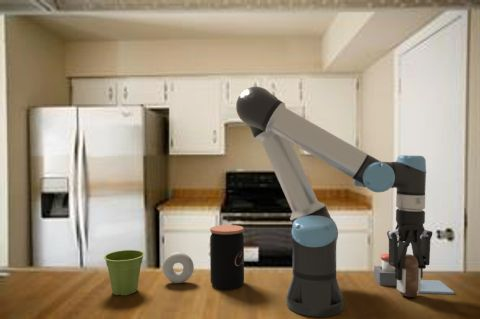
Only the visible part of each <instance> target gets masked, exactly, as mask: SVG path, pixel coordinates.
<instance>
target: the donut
mask: <svg viewBox="0 0 480 319" xmlns="http://www.w3.org/2000/svg"><path fill="white" fill-rule="evenodd" d="M176 264H180V265H182V267H183V269H182V270H181V271H180V272H178V271H176V270H174V266H175V265H176ZM194 267H195V265H194V262H193V260H192V258H191V256H190V255H189V254H187V253H184V252H182V251H181V252H180V251H176V252H172V253H170V254H169V255H168V256H166V258H165V259H164V261H163V263H162V273H163V275H164V276H165V278H166V279H167V280H168V281H170V282H171V283H173V284H182V283H184V282H186V281H188V280H189V279H190V278H191V277H192V276H193V273H194V269H195V268H194Z"/></svg>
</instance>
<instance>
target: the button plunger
mask: <svg viewBox="0 0 480 319" xmlns="http://www.w3.org/2000/svg"><path fill="white" fill-rule="evenodd" d="M380 259H381V266H382V271H384V272H395V267H393V266H391V265H389V253H381V254H380Z"/></svg>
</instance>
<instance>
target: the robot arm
mask: <svg viewBox="0 0 480 319" xmlns="http://www.w3.org/2000/svg"><path fill="white" fill-rule="evenodd" d="M235 106H236V107H235V109H236V113H237V116H238V118H239V119H240V120H241V121H242V122H243V123H244V124H246V125H248V127H249V129H250V131H251V133H252V136H253V138H254V139H255V141H258V142H260V143H261V144H262V146H263V149H264V151H265V153H266V156H267V158H268V160H269V162H270V165H271V167H272V169H273V171H274V174H275V177H276V178H277V181H278V182H279V184H280V188H281V189H282V192H283V194H284V196H285V198H286V201H287V203H288V205H289V208H290V210H291V216H290V217H289V219H290V222H291V224H292V228H291V237H292V241H291V242H292V244H291V245H292V277H291V280H290V283H289V286H288V289H287V292H286V300H285V301H286V304H285V305H286V307H287V308H288V309H289V310H290V311H292V312H294V313H296V314H298V315H302V316H307V317H314V318H315V317H316V318H326V317H333V316H335V315H336V316H337V315H338V314H340V313H342V311H343V310H344V298H343V294H342V292H341V288H340V285H339V283H338V279H337V244H338V242H337V241H338V237H339V232H338V231H339V230H338V226H337V224H336V221H335V220H334V218H332V216H331V214H330V212H329V211H328V209H327V208H328V207H327V206H326V204H325V203H323V202H321V201H319V200H318V199H317V196H316V194H315V192H314V189H313V187H312V185H311V183H310V180H309V179H308V176H307V173H306V171H305V169H304V168H303V165H302V163H301V161H300V159H299V156H298V154H297V152H296V149H295V147H294V145H295V146H296V147H297V148H300V149H301V150H302V151H304V152H306V153H308V154H310V155H312V156H313V157H315V158H316V159H318V160H320V161H322V162H324V163H325V164H327V165H329V166H330V167H332V168H334V169H335V170H337V171H339V172H340V173H342V174H344V175H345V176H348V177H349V178H351V179H353V184H354V186H356V187H362V188H367V190H369V191H371V192H374V193H383V192H387V191H389V190H390V189H394V188H395V189H396V197H395V198H396V200H395V201H396V202H395V206H396V208H397V209H395V221H396V226H395V229H393V230H391V231H390V230H388V231H387V232H386V235H387V238H388V254H389V265H391V266H393V267H395V278H396V279H397V286H396V290H397V291H399V292H400V291H401V292H403V293H405V285H406V270H405V269H403V267H404V262H405V257H406V254H408V253H407V252H408V247H410V244H411V249H412V250H411V251H412V255H413V256H415V257H416V259H417V260H418V269H417V291H418V292H419V291H420V290H421V280H423V275H424V274H423V272H424V270H426V268H427V266H430V262H431V261H430V259H431V257H430V256H431V239H432V237H433V233H434V232H433V231H431V230H427V229H425V227H424V224H425V222H426V220H425V219H426V211H425V209H426V180H427V179H426V178H427V164H426V158H425V156H422V155H405V154H404V155H398V156H397V157H396V161H381V160H379V159H377V158H375V157H373V156H371V155H370V154H368V153H367V152H364V151H363V150H361V149H359V148H357V147H356V146H354V145H353V144H351V143H349V142H347V141H345V140H344V139H341V138H340V137H338V136H336V135H334V134H333V133H331V132H329V131H327V130H325V129H324V128H322V127H320V126H318V124H317V125H316V124H315V123H313V122H311V121H309V120H307V119H306V118H304V117H303V116H301V115H299V114H297V113H296V112H293V111H292V110H290V109H289V108H287V107H286V103H285V102H283V101H282V100H280V99H279V98H278V97H276V96H275V95H274V94H273V93H271V92H270V91H269V90H267V89H266V88H264V87H262V86H251V87H248V88H246V89H244V90H243V91H242V92H241V93H240V94H239V96H238V98H237V100H236V104H235ZM418 292H417V293H418Z"/></svg>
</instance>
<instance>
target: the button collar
mask: <svg viewBox="0 0 480 319" xmlns="http://www.w3.org/2000/svg"><path fill="white" fill-rule="evenodd" d="M373 270H374V271H373V278H374V280H375V281H376V282H377V284H378V285H379V286H385V287H397V279H396V278H395V272H384V271H382V265H374V266H373Z"/></svg>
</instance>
